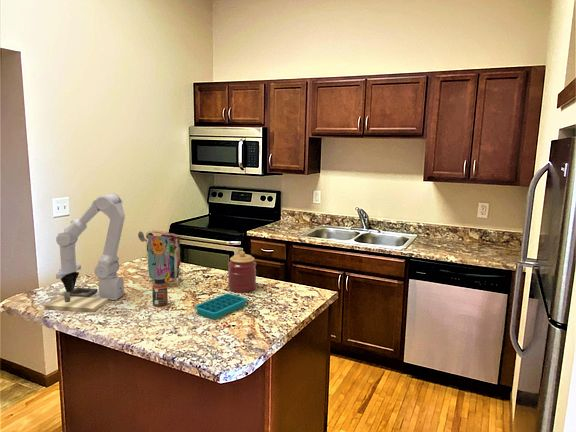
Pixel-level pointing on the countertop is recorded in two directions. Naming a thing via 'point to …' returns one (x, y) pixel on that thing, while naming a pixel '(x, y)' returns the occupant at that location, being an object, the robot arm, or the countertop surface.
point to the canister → (242, 273)
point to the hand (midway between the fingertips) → (70, 290)
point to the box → (163, 255)
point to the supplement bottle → (159, 292)
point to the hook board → (76, 303)
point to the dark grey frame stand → (88, 291)
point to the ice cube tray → (220, 305)
